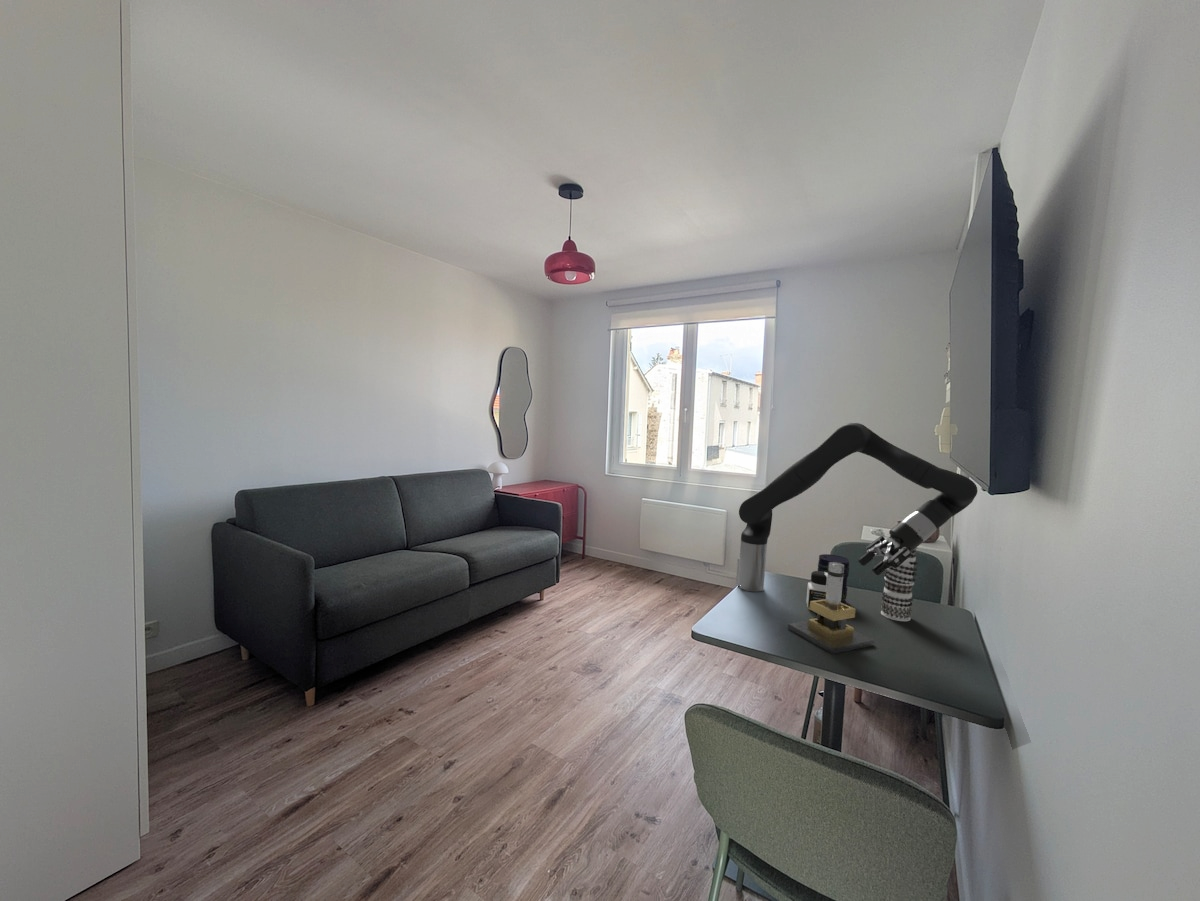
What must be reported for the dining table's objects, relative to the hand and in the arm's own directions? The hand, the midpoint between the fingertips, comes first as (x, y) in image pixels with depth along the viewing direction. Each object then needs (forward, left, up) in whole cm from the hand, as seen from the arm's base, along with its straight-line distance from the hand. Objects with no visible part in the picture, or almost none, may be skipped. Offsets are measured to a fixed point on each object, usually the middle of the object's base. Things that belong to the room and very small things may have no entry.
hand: (867, 567), depth 141 cm
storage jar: (-26, +17, -21) cm, 38 cm away
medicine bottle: (-22, +7, -21) cm, 31 cm away
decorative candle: (-9, +27, -21) cm, 36 cm away
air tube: (-4, -8, -20) cm, 21 cm away
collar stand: (-4, -8, -21) cm, 23 cm away
